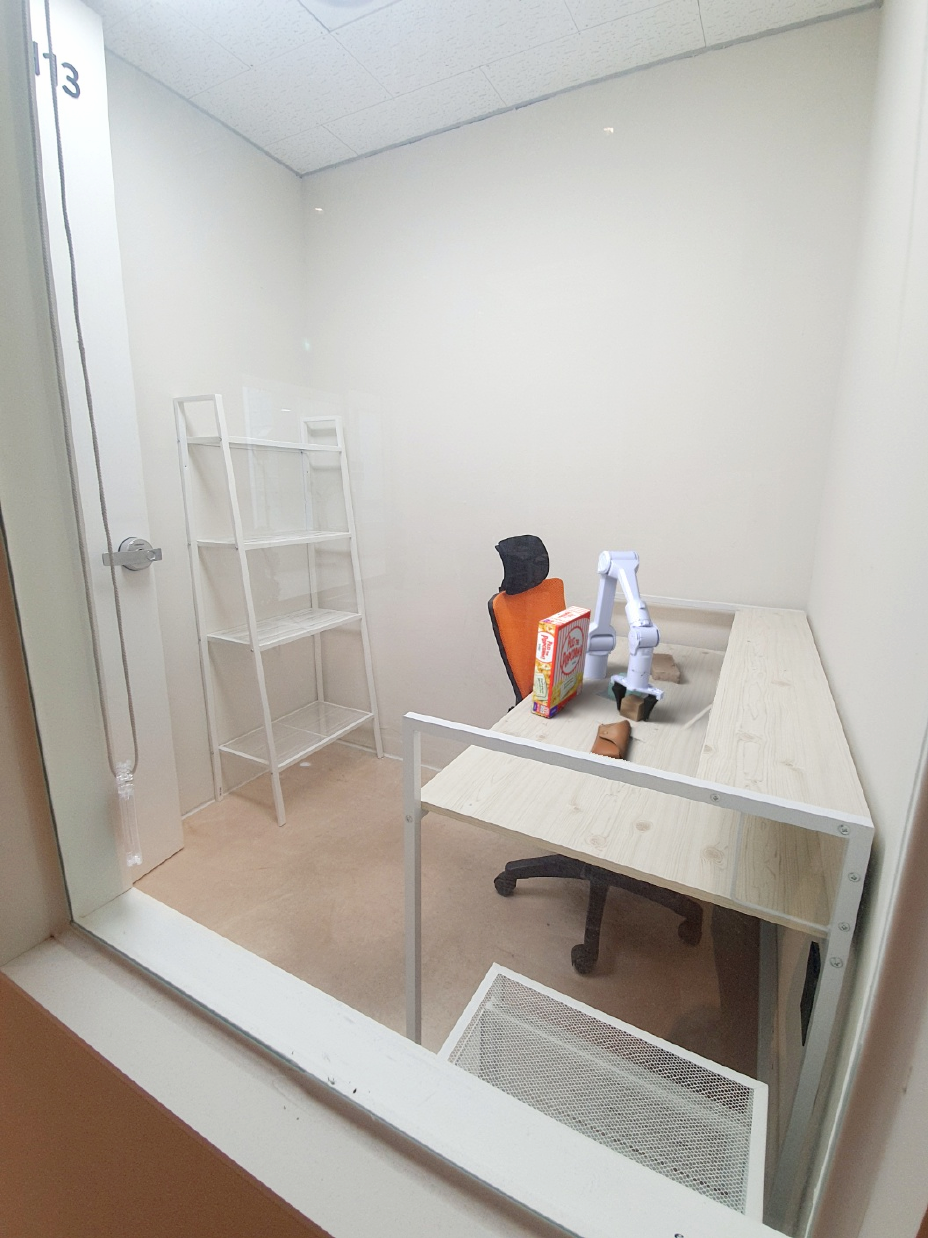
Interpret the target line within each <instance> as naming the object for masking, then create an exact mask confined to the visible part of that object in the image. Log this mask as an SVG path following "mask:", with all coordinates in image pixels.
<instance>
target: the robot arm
mask: <svg viewBox="0 0 928 1238" xmlns="http://www.w3.org/2000/svg"><path fill="white" fill-rule="evenodd" d="M639 567H640V557H639V554H638V553H637V551H635V550H603V551H602V552H601V553H600V554H599V556H598V564H597V574H598V575H600V579H599V584H598V591H597V598H596V604H595V605H596V606H595V611H594V619H593V621H592V622H590V623H589V632H588V640H587V649H586V657H585V666H584V675H583V677H586V678H587V679H592V680H603V679H606V676H607V671H608V670H607V669H608V660H609V655H610V654H611V653H612V651H614V649H616V646H617V638H616V637H617V630H616V629H615V628H614V627H613V626H612V625H611V621H612V615H613V609H614V602H615V596H616V590H617V585H618V581H619V583H620V586H621V589H622V591H623V595H624V598H625V599H626V605H625V607H624V612H625V614H626V619H627V622H628V625H629V632H628V634H627V638H628V652H629V660H628V665H627V673H626V674H627V677H623V676H618V674H613V675H612V676H611V677H610V679H611V683H613V684H614V686H612V691H613V693H614V695H615V698H616V702H615V703H616V709H617V711H619V712H620V709H621V702H622V699H623V698H625V694H626V691H627V689H628V690H630V691H639V692H641V693H644V694H647V695H648V696H647V697H645V698H644V713H643V718H642V721H647V720H648V719H649V718H650V715H651V713H652V710H653V709H654V708H655V706H656V705H657V704H658V702H659V701H661V700H663V698H664V696H665V691H663V690H661V689H659V688H657V687H655V686H654V685H652V684H650V683H649V682H650V681H649V680H650V676H651V675H650V670H651V663H652V657H653V653H654V651H655V650H654V648H657V647H659V645H660V641H661V640H660V639H661V634H660V630H659V627H658V626H657V625H656V623H655V622H654V621H652V619H651V615H650V612H649V608H648V606H647V602H646V601H645V600H643V599H641V598H642V597H641V594H640V593H641V592H640V587H639V583H638V577H637V574H638V572H639Z"/></svg>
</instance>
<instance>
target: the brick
mask: <svg viewBox="0 0 928 1238" xmlns="http://www.w3.org/2000/svg"><path fill="white" fill-rule="evenodd" d="M650 676H651V677H652V679H653V681H658V682H659V681H660V682H670V683H673V684H678V685H679V683H680V681H681V680H680V678H681V672H680V670H679V668H678V667H677V665H676V662H675V659H674V657H673V654H669V653H663V652H662V653H659V652H657V653H656V652H655V653H654V652H653V657H652V663H651V670H650Z"/></svg>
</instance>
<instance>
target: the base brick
mask: <svg viewBox="0 0 928 1238" xmlns="http://www.w3.org/2000/svg"><path fill="white" fill-rule="evenodd" d="M617 675H618V676H623V677H627V673H624V672H620V673H619V674H617ZM612 686H614V684H613V683H611V678H609V682H608V687H609V689H608V695H611V696H614V697H615V695H614V693H613V691H612ZM629 694H633V695H636V696H640V695H641V692H639V691H630V690H628V689H627V691H626V694H625V697H626V696H628V695H629Z"/></svg>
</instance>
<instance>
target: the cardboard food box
mask: <svg viewBox="0 0 928 1238" xmlns="http://www.w3.org/2000/svg"><path fill="white" fill-rule="evenodd" d="M591 612H592V610H591V609H589V608H585V607H580V606H576V605H572V606H570V607H568V608H565V609H564V610H562V611H560V612H557V613H555V614H553V615H551V616H548V617H547V618H544V619H542V620H539V621H538V630H537V631H538V632H537V642H536V653H535V664H534V665H535V666H534V674H533V675H534V676H533V686H532V696H531V697H532V698H531V705H530V712H531V713H533V714H536V715H538V716H540V715H541V717H543V716H545V717H544V718H546V717H550V718H552V717H553V716H554V715H556V714H557V713H558V712H559V711H561V710H563V708H564V706H565V705H566V704H568V703H569V702H570V701H572V700H573V699H574V698H575V697H576V696H578V695H579V694H581V692H582V690H583V684H584V666H585V657H586V649H587V640H588V632H589V624H590V623H591V621H590V620H591ZM551 716H552V717H551Z"/></svg>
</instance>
